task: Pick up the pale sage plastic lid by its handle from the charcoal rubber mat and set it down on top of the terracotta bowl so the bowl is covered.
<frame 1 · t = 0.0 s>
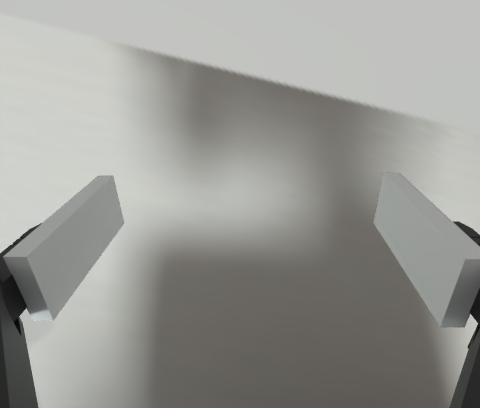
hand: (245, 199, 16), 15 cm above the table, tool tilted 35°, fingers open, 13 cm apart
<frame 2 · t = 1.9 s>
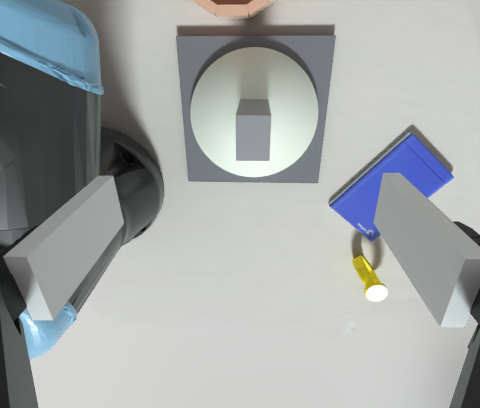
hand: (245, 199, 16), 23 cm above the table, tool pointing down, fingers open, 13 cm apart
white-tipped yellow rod: (362, 264, 45), on the table
lid: (253, 116, 35), point 1 cm above the table, touching mat
mat: (253, 115, 36), on the table
hard drive: (385, 187, 40), on the table
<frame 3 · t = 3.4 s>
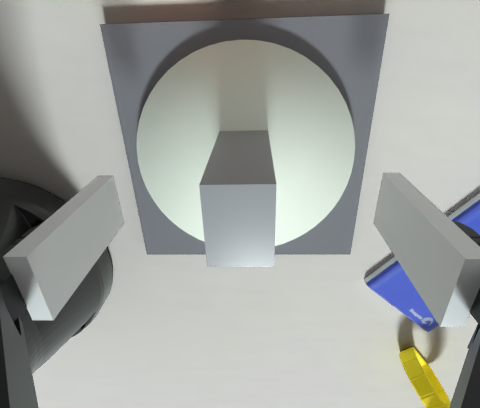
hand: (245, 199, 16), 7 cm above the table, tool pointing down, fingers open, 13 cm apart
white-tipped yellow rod: (412, 355, 31), on the table
lid: (244, 157, 21), point 1 cm above the table, touching mat
mat: (245, 153, 22), on the table
hard drive: (453, 254, 26), on the table
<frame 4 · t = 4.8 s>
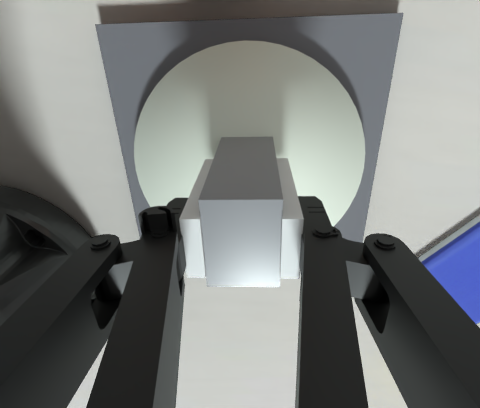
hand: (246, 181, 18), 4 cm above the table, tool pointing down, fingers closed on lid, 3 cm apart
lid: (247, 164, 20), point 1 cm above the table, touching gripper, mat
mat: (248, 160, 21), on the table
hard drive: (465, 266, 25), on the table
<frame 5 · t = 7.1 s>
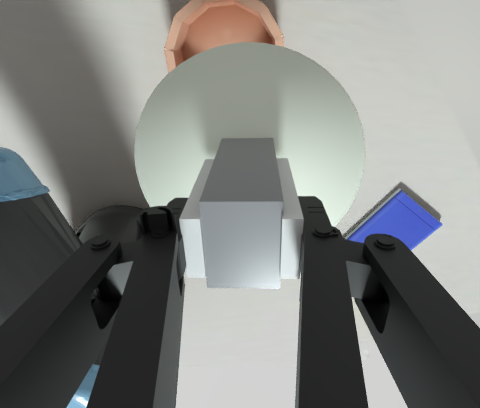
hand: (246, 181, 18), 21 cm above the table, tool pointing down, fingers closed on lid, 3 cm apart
lid: (248, 165, 20), point 18 cm above the table, touching gripper
bowl: (228, 57, 34), on the table
hard drive: (381, 233, 44), on the table
when the fingers open (9 cm above the table, at t = 9.6 s): lid drops 1 cm, resting on bowl.
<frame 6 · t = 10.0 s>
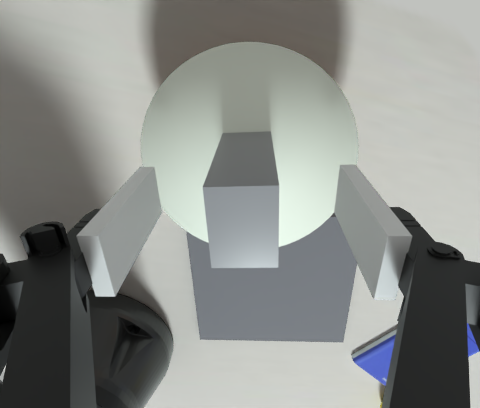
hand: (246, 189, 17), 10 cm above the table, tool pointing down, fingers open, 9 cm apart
lid: (248, 158, 21), point 5 cm above the table, touching bowl
mat: (271, 280, 32), on the table
hard drive: (414, 341, 36), on the table
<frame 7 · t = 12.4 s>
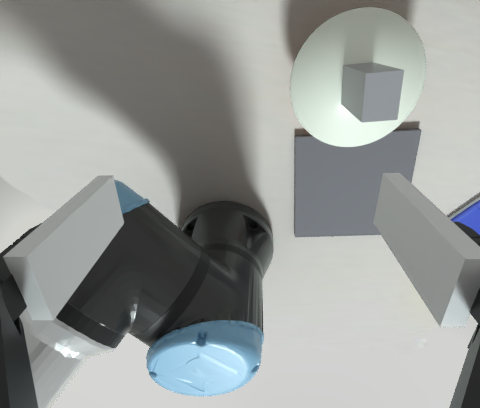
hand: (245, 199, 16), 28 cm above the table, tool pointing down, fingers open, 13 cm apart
lid: (354, 82, 34), point 5 cm above the table, touching bowl
mat: (350, 186, 46), on the table
hard drive: (453, 235, 49), on the table
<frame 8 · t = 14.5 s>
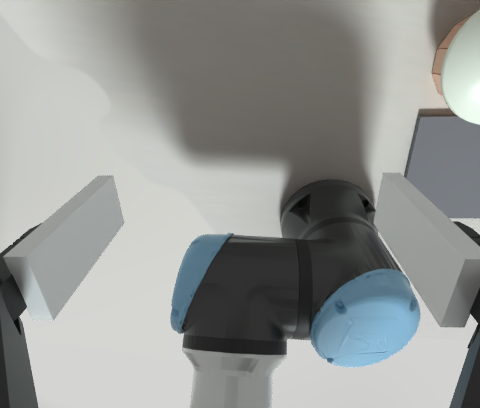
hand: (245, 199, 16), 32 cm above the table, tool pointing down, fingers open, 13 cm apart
mat: (460, 169, 47), on the table
bowl: (478, 59, 40), on the table
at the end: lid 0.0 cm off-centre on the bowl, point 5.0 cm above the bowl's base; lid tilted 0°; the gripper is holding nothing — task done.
